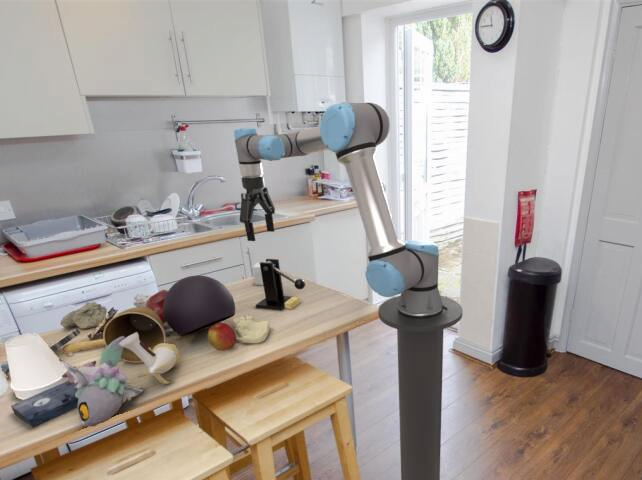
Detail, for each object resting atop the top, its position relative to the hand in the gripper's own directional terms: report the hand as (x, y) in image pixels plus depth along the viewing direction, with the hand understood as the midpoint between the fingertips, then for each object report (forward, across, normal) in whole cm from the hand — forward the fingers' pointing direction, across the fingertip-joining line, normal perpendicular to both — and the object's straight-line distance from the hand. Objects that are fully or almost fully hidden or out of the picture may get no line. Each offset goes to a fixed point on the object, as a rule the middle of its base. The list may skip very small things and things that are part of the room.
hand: (261, 235), depth 170 cm
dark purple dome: (+16, +44, +6) cm, 48 cm away
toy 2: (+13, +79, -1) cm, 80 cm away
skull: (+15, +31, -25) cm, 42 cm away
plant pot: (+14, +49, -13) cm, 53 cm away
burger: (+14, +52, -28) cm, 61 cm away
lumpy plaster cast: (+20, +41, +17) cm, 49 cm away
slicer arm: (+10, +16, +16) cm, 25 cm away
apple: (+20, +47, +13) cm, 53 cm away
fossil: (+14, +42, -39) cm, 59 cm away
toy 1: (+19, +65, -35) cm, 76 cm away
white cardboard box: (+20, -3, -4) cm, 21 cm away
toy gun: (+6, +67, +4) cm, 67 cm away
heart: (+18, +37, -23) cm, 47 cm away
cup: (+6, +80, -19) cm, 82 cm away
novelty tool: (+19, +42, -9) cm, 47 cm away
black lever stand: (+20, +16, +12) cm, 28 cm away
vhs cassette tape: (+18, +82, -12) cm, 84 cm away
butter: (+20, +16, +18) cm, 31 cm away
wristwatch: (+19, +80, -34) cm, 89 cm away
